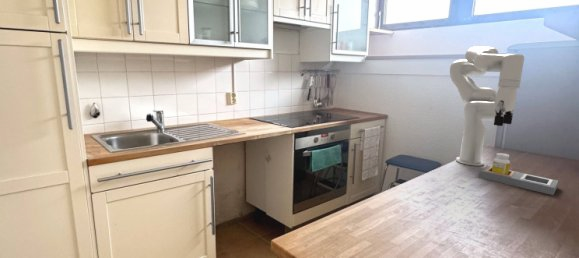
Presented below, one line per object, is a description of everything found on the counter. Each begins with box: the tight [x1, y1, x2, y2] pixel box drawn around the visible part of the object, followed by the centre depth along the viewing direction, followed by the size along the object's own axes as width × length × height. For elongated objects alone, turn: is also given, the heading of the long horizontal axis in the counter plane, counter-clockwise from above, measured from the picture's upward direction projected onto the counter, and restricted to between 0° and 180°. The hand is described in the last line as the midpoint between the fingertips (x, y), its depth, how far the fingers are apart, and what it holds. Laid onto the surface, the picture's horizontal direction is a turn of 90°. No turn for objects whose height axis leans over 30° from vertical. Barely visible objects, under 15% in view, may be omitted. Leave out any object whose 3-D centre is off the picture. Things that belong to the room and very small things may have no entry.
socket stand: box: [478, 165, 559, 196], centre depth 136 cm, size 12×26×3 cm, turn 45°
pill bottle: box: [492, 152, 511, 175], centre depth 140 cm, size 6×6×11 cm
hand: (502, 124), depth 137 cm, fingers open, 9 cm apart
